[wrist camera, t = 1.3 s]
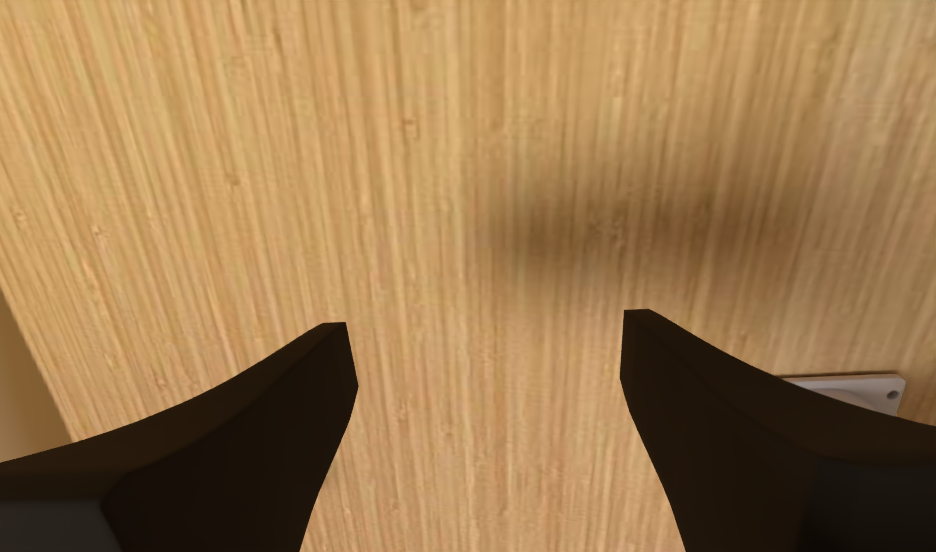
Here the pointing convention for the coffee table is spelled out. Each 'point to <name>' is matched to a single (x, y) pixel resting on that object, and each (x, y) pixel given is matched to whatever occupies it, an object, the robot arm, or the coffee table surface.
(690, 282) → the coffee table surface
